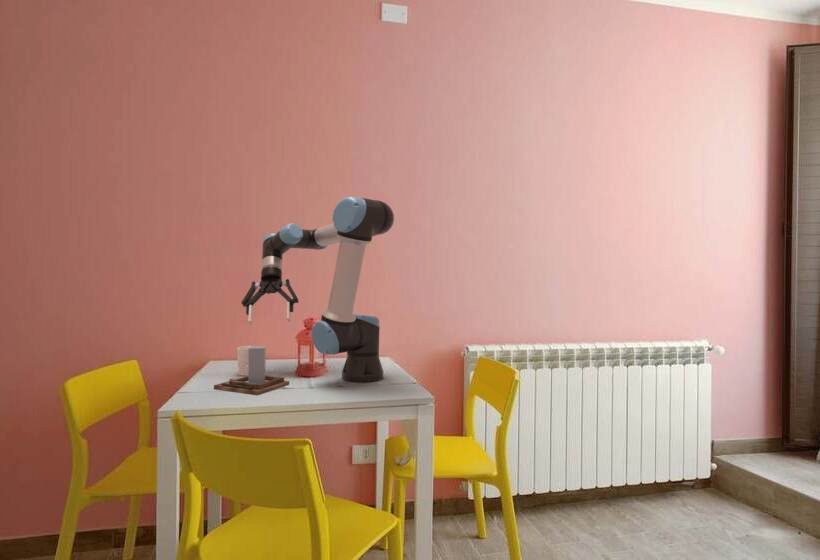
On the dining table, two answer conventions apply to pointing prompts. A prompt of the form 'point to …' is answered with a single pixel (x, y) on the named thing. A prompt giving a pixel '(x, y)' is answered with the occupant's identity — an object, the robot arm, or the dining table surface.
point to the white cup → (243, 360)
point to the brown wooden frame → (252, 385)
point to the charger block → (257, 364)
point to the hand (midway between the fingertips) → (269, 321)
